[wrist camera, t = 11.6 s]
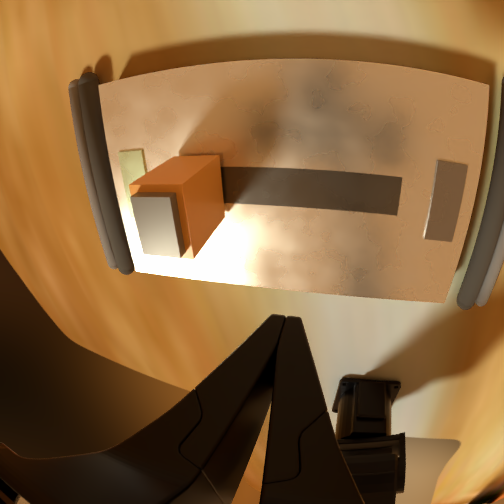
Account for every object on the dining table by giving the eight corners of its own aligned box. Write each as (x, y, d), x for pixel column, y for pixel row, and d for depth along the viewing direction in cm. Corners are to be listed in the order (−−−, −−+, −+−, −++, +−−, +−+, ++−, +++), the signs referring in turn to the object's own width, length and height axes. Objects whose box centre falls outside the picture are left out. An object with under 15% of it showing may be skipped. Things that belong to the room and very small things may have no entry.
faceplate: (438, 286, 21) (444, 304, 19) (147, 258, 27) (135, 272, 25) (475, 83, 13) (490, 85, 11) (115, 82, 19) (96, 85, 17)
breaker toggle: (225, 216, 20) (189, 266, 15) (182, 214, 21) (138, 260, 16) (219, 155, 18) (176, 189, 13) (173, 156, 19) (121, 189, 14)
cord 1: (140, 269, 28) (131, 279, 26) (115, 265, 28) (105, 275, 27) (101, 69, 18) (87, 70, 17) (74, 77, 19) (60, 80, 18)
